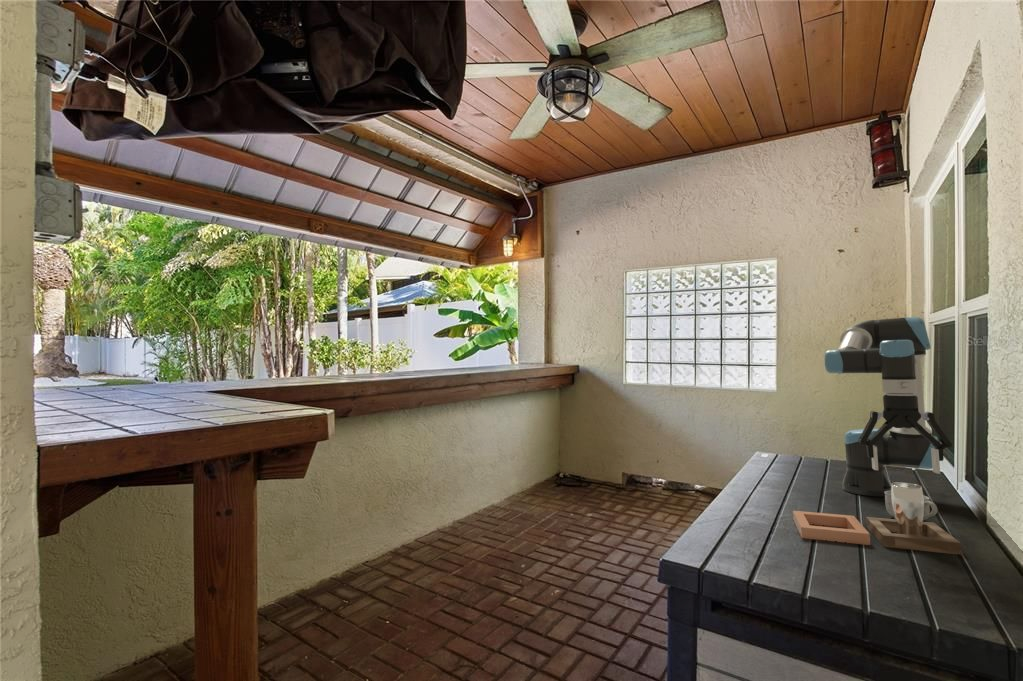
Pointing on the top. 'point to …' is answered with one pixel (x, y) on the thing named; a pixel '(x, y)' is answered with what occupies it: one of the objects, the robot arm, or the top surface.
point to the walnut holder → (913, 537)
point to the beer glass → (908, 507)
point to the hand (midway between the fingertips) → (905, 471)
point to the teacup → (926, 506)
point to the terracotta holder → (850, 535)
